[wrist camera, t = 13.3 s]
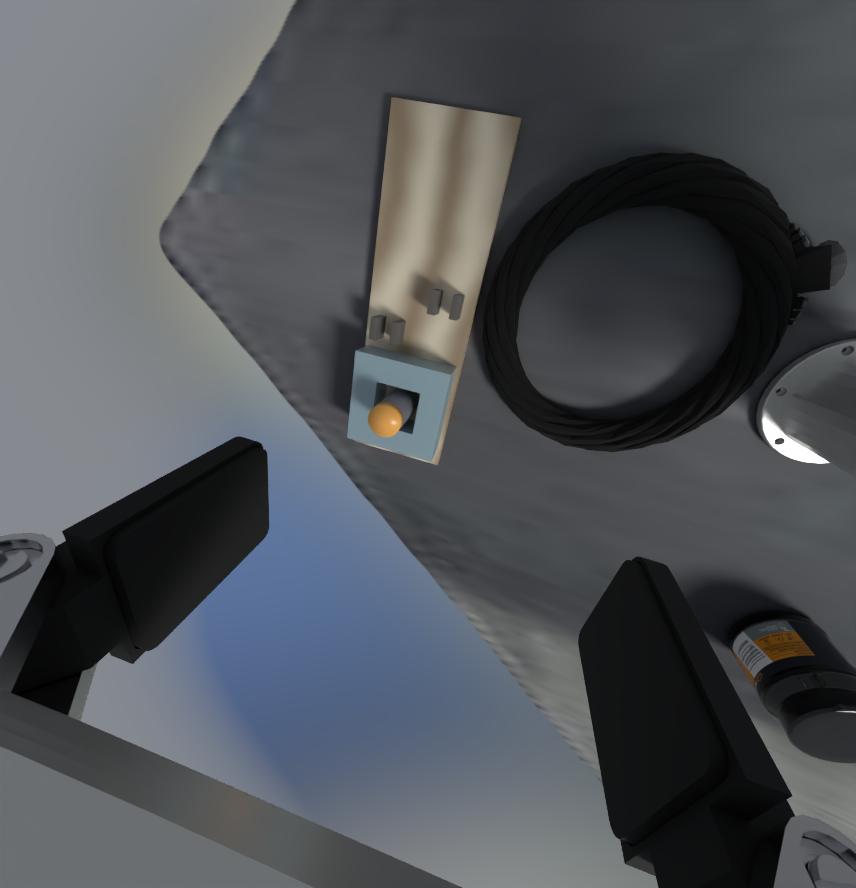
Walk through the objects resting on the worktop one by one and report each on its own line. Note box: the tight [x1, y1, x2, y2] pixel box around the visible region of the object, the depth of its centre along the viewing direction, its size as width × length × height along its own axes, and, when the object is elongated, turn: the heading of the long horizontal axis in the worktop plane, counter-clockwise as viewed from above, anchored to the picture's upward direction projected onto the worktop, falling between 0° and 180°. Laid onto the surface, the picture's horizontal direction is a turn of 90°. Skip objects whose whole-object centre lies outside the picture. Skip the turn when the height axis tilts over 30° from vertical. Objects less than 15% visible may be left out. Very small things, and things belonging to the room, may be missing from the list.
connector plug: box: [368, 387, 419, 437], centre depth 40 cm, size 4×4×8 cm
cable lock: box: [483, 153, 847, 452], centre depth 34 cm, size 28×4×30 cm
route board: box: [355, 97, 521, 465], centre depth 38 cm, size 12×36×4 cm, turn 169°
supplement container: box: [729, 612, 856, 763], centre depth 42 cm, size 10×10×12 cm
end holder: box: [347, 345, 457, 462], centre depth 41 cm, size 11×11×4 cm
